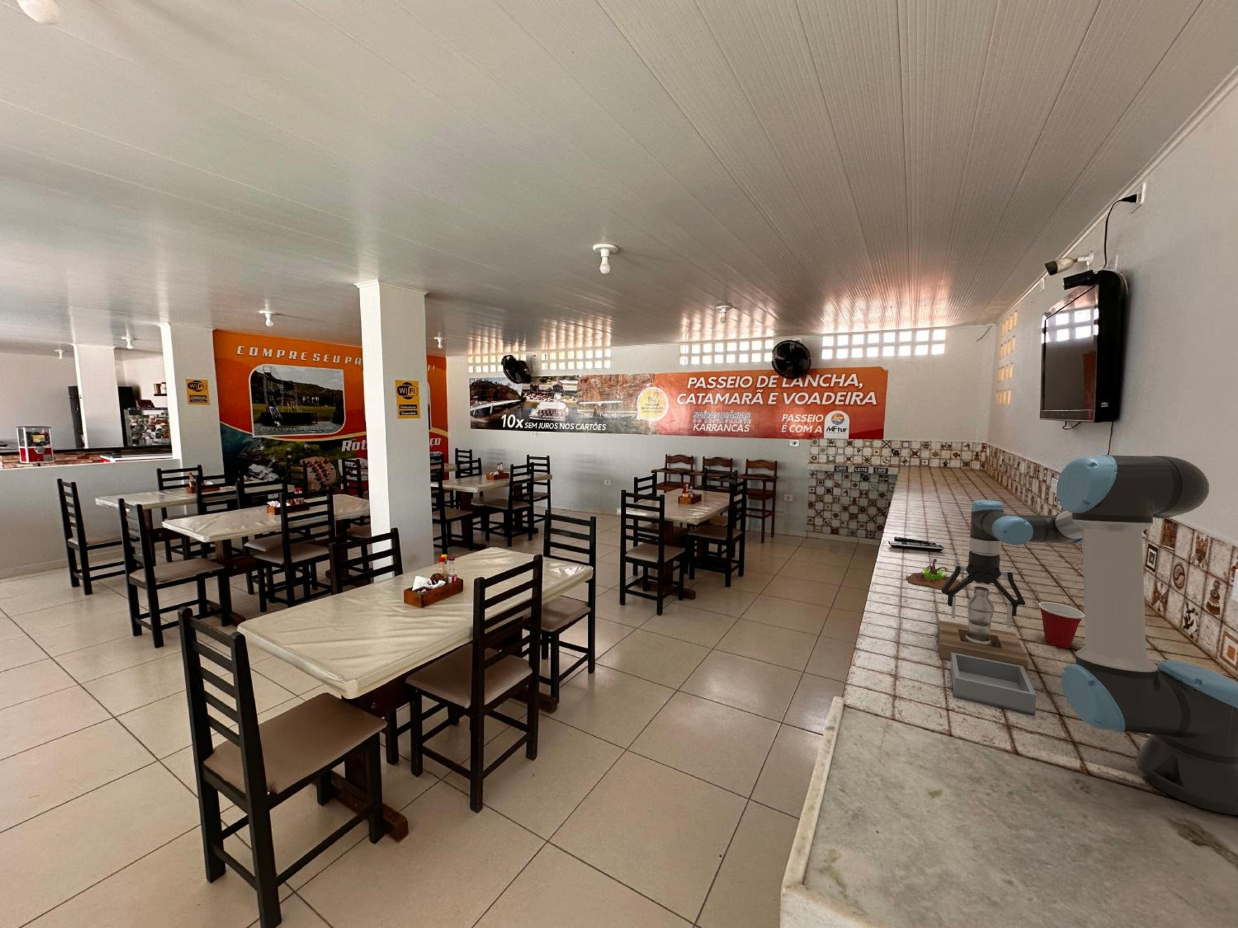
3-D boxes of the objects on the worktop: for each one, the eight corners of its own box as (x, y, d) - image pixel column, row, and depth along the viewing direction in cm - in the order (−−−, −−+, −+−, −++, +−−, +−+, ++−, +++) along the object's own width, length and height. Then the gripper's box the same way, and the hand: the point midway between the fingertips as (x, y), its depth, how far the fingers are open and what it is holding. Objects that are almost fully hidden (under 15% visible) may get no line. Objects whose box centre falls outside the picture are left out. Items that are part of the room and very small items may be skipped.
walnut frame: (1027, 675, 136) (1028, 660, 136) (940, 658, 147) (941, 643, 146) (1014, 646, 154) (1015, 632, 153) (937, 633, 164) (938, 619, 163)
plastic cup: (1078, 657, 147) (1081, 617, 146) (1032, 644, 155) (1034, 607, 154) (1085, 646, 154) (1088, 608, 153) (1040, 634, 162) (1042, 599, 161)
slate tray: (1034, 715, 119) (1036, 695, 118) (954, 696, 127) (955, 677, 126) (1022, 684, 132) (1023, 666, 132) (950, 669, 140) (951, 652, 140)
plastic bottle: (964, 645, 155) (968, 583, 153) (991, 651, 151) (996, 587, 149) (962, 653, 150) (966, 588, 148) (990, 659, 146) (994, 593, 144)
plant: (966, 584, 211) (967, 559, 210) (956, 596, 197) (957, 569, 196) (913, 575, 225) (914, 550, 224) (900, 585, 211) (901, 559, 210)
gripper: (1035, 554, 144) (1030, 625, 146) (934, 544, 157) (930, 608, 159) (1041, 561, 138) (1036, 634, 140) (935, 549, 150) (931, 617, 152)
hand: (980, 621), depth 149 cm, fingers open, 13 cm apart
